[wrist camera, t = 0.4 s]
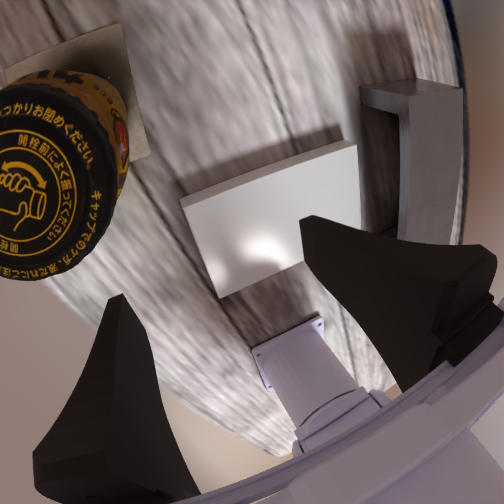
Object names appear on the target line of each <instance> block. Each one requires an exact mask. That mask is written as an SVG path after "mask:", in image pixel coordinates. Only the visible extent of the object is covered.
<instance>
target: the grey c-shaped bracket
mask: <svg viewBox="0 0 504 504" xmlns="http://www.w3.org/2000/svg"><path fill="white" fill-rule="evenodd" d="M359 87H360V96H361V105H365V106H369V107H372V108H376V109H380V110H384V111H387V112H391V113H394V114H398V115H399V129H400V200H399V221H398V225H396V226H394V227H392V228H390V229H388V230H386V231H384V232H382V233H380V234H378V235H381V236H385V237H389V238H394V239H399V240H405V241H411V242H418V243H426V244H438V245H449V242H450V237H451V231H452V225H453V219H454V213H455V206H456V199H457V191H458V183H459V173H460V162H461V148H462V126H463V89H462V88H458V87H454V86H450V85H446V84H442V83H438V82H433V81H428V80H423V79H418V78H414V79H406V80H398V81H390V82H383V83H377V84H370V85H364V86H359Z"/></svg>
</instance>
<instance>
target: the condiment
mask: <svg viewBox="0 0 504 504" xmlns="http://www.w3.org/2000/svg"><path fill="white" fill-rule="evenodd" d="M4 72H5V76H6V82H7V86H5V87H4V88H3V89H2V90H0V276H1V277H5V278H8V279H14V280H20V281H36V280H41V279H45V278H47V277H49V276H53V275H56V274H61V273H63V272H66V271H68V270H69V269H72V268H73V267H74V266H76V265H78V264H79V263H80V262H81V260H82V259H83V258H84V257H85V256H87V255H88V254H89V253H90V252H91V251H92V250H93V249H94V248H95V246H96V244H97V243H98V242H99V240H100V239H101V238H102V236H103V235H104V234H105V231H106V229H107V227H108V226H109V225H110V221H111V218H112V216H113V212H114V207H115V205H116V202H117V199H118V197H119V196H120V193H121V190H122V188H123V184H124V182H125V179H126V175H127V170H128V167H129V163H130V162H132V161H135V160H138V159H141V158H144V157H147V156H150V155H151V153H150V149H149V145H148V141H147V137H146V134H145V130H144V126H143V122H142V118H141V114H140V109H139V105H138V101H137V97H136V92H135V87H134V84H133V79H132V74H131V70H130V65H129V60H128V56H127V50H126V46H125V41H124V35H123V30H122V24H121V22H120V23H117V24H114V25H110V26H108V27H105V28H102V29H98V30H95V31H93V32H90V33H87V34H84V35H81V36H78V37H76V38H73V39H71V40H68V41H65V42H63V43H60V44H58V45H55V46H53V47H52V48H49V49H46V50H44V51H41V52H39V53H37V54H35V55H32V56H30V57H28V58H26V59H24V60H22V61H20V62H18V63H16V64H14V65H12V66H10V67H8V68H6V69H5V70H4ZM108 76H110V78H109V79H108Z"/></svg>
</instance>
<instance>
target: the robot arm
mask: <svg viewBox="0 0 504 504" xmlns="http://www.w3.org/2000/svg"><path fill="white" fill-rule="evenodd" d="M299 226H300V233H301V240H302V248H303V255H304V261H305V263H306V264H307V265H308V267H309V268H310V270H311V271H312V272H313V274H314V275H315V277H316V278H317V279H318V280H319V281H320V282H321V284H322V285H323V286H324V287H325V288H326V289H327V290H328V291H329V292H330V293H331V294H332V295H333V296H334V297H335V298H336V299H337V300H338V301H339V303H340V304H341V305H342V306H343V307H344V308H345V309H346V310H347V311H348V312H349V313H350V314H351V315H352V317H353V318H354V319H355V320H356V321H357V323H358V324H359V325H360V327H361V328H362V329H363V331H364V332H365V333H366V335H367V336H368V338H369V339H370V340H371V342H372V343H373V345H374V346H375V348H376V349H377V351H378V352H379V354H380V355H381V357H382V358H383V360H384V362H385V363H386V365H387V367H388V368H389V370H390V371H391V373H392V375H393V377H394V378H395V380H396V382H397V384H398V386H399V387H400V389H401V391H402V393H403V394H401V395H400V396H398V397H397V398H396V399H394V400H393V401H392V400H391V399H390V398H389V397H388V396H387V395H386V394H385V393H384V392H383V391H379V390H374V389H373V390H371V391H370V392H369V393H367V391H366V390H365V389H364V387H363V386H361V387H359V386H358V384H357V383H356V382H355V381H354V379H353V378H352V377H351V375H350V374H349V373H348V371H347V370H346V369H345V368H344V366H343V365H342V364H341V362H340V361H339V360H338V358H337V357H336V356H335V355H334V353H333V352H332V351H331V349H330V348H329V347H328V345H327V344H326V343H325V335H324V321H323V318H322V316H317V317H315V318H313V319H311V320H309V321H307V322H305V323H303V324H301V325H299V326H298V327H296V328H294V329H292V330H290V331H287V332H285V333H283V334H281V335H279V336H277V337H275V338H273V339H271V340H269V341H267V342H265V343H263V344H261V345H259V346H256V347H255V348H253V349H252V354H253V356H254V359H255V361H256V364H257V367H258V369H259V372H260V374H261V377H262V379H263V382H264V384H265V387H266V389H267V391H268V392H273V391H275V392H276V394H277V395H278V397H279V399H280V401H281V402H282V404H283V406H284V407H285V409H286V411H287V413H288V414H289V416H290V418H291V420H292V421H293V423H294V425H295V426H296V428H297V429H296V430H295V431H294V432H295V434H296V436H297V438H298V439H297V440H296V441H294V442H293V447H292V455H293V458H292V459H291V460H288V461H286V462H284V463H282V464H280V465H277V466H275V467H273V468H271V469H268V470H266V471H264V472H261V473H259V474H256V475H254V476H252V477H249V478H247V479H244V480H241V481H239V482H236V483H233V484H231V485H228V486H225V487H222V488H220V489H217V490H214V491H211V492H208V493H205V494H201V493H200V491H199V489H198V487H197V485H196V483H195V482H194V480H193V478H192V476H191V474H190V472H189V470H188V468H187V465H186V463H185V461H184V459H183V457H182V454H181V452H180V450H179V447H178V445H177V442H176V440H175V438H174V435H173V432H172V430H171V427H170V424H169V422H168V420H167V417H166V413H165V410H164V407H163V403H162V399H161V395H160V390H159V385H158V380H157V375H156V369H155V364H154V359H153V354H152V350H151V346H150V343H149V340H148V336H147V333H146V330H145V328H144V326H143V325H142V323H141V322H140V320H139V319H138V317H137V315H136V314H135V312H134V311H133V309H132V308H131V306H130V304H129V303H128V301H127V299H126V298H125V296H124V295H123V293H122V294H119V295H117V296H115V297H112V298H110V299H108V302H107V305H106V308H105V311H104V314H103V317H102V320H101V323H100V326H99V329H98V332H97V335H96V338H95V341H94V344H93V347H92V349H91V352H90V354H89V357H88V360H87V362H86V365H85V367H84V369H83V372H82V374H81V376H80V378H79V380H78V382H77V385H76V386H75V388H74V390H73V392H72V394H71V396H70V398H69V399H68V401H67V403H66V405H65V407H64V408H63V410H62V412H61V414H60V415H59V417H58V418H57V420H56V421H55V423H54V424H53V426H52V427H51V429H50V430H49V432H48V433H47V434H46V436H45V437H44V438H43V440H42V441H41V442H40V443H39V445H38V446H37V447H36V449H35V450H34V451H33V474H34V486H35V488H36V490H37V491H38V492H39V493H40V494H42V495H43V496H45V497H47V498H49V499H51V500H54V501H57V502H59V503H62V504H249V503H252V502H254V501H257V500H260V499H262V498H265V497H267V496H270V495H272V494H274V493H276V492H278V493H276V494H274V495H272V496H270V497H269V498H266V499H264V500H262V501H260V502H258V503H256V504H504V470H503V469H502V468H501V467H500V465H499V464H498V463H497V462H496V460H495V459H494V458H493V457H492V456H491V454H490V453H489V452H488V451H487V450H486V448H485V447H484V446H483V445H482V444H481V442H480V441H479V440H478V439H477V438H476V436H474V434H473V433H472V432H471V431H470V430H469V429H470V427H472V426H473V425H474V424H475V423H476V422H477V421H478V420H479V418H481V417H482V416H483V415H484V414H485V412H486V411H487V410H488V409H489V408H490V407H491V406H492V405H493V404H494V403H495V402H496V401H497V399H498V398H499V397H500V396H501V395H502V394H503V393H504V298H503V299H502V300H501V301H500V303H499V304H498V306H496V305H495V304H494V303H493V300H494V296H493V295H492V294H490V293H489V289H490V287H491V284H492V281H493V278H494V276H495V273H496V269H497V257H496V256H495V255H494V254H493V253H491V252H490V251H489V250H487V249H486V248H484V247H483V246H482V245H480V244H479V245H478V244H477V245H438V244H426V243H418V242H411V241H405V240H399V239H394V238H389V237H385V236H381V235H377V234H374V233H370V232H366V231H363V230H360V229H356V228H353V227H350V226H347V225H344V224H341V223H338V222H335V221H332V220H329V219H326V218H322V217H319V216H315V215H310V216H308V217H305V218H303V219H300V220H299ZM281 490H282V491H281ZM279 491H280V492H279Z"/></svg>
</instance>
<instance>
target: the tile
mask: <svg viewBox="0 0 504 504" xmlns="http://www.w3.org/2000/svg"><path fill="white" fill-rule="evenodd" d="M179 201H180V203H181V206H182V209H183V211H184V214H185V217H186V219H187V222H188V224H189V227H190V230H191V232H192V235H193V237H194V240H195V242H196V245H197V247H198V250H199V252H200V255H201V257H202V260H203V262H204V265H205V267H206V270H207V272H208V275H209V277H210V280H211V282H212V284H213V287H214V289H215V291H216V293H217V295H218V297H219V299H221V298H223V297H225V296H227V295H229V294H232V293H234V292H236V291H238V290H241V289H243V288H245V287H247V286H249V285H252V284H254V283H256V282H258V281H260V280H263V279H265V278H267V277H269V276H271V275H273V274H276V273H278V272H280V271H282V270H284V269H286V268H289V267H291V266H293V265H295V264H297V263H299V262H301V261H304V255H303V248H302V240H301V233H300V226H299V220H300V219H303V218H305V217H308V216H310V215H315V216H319V217H322V218H326V219H329V220H332V221H335V222H338V223H341V224H344V225H347V226H350V227H353V228H356V229H360V230H361V213H360V188H359V171H358V156H357V145H356V144H354V143H351V142H349V141H346V140H341V141H338V142H335V143H332V144H329V145H325V146H322V147H319V148H316V149H313V150H310V151H307V152H304V153H301V154H298V155H295V156H292V157H289V158H286V159H283V160H281V161H278V162H275V163H272V164H269V165H266V166H264V167H261V168H258V169H255V170H253V171H250V172H247V173H245V174H242V175H239V176H237V177H234V178H231V179H229V180H226V181H223V182H221V183H218V184H216V185H213V186H211V187H208V188H206V189H203V190H201V191H198V192H196V193H193V194H191V195H188V196H186V197H184V198H181V199H179Z"/></svg>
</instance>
